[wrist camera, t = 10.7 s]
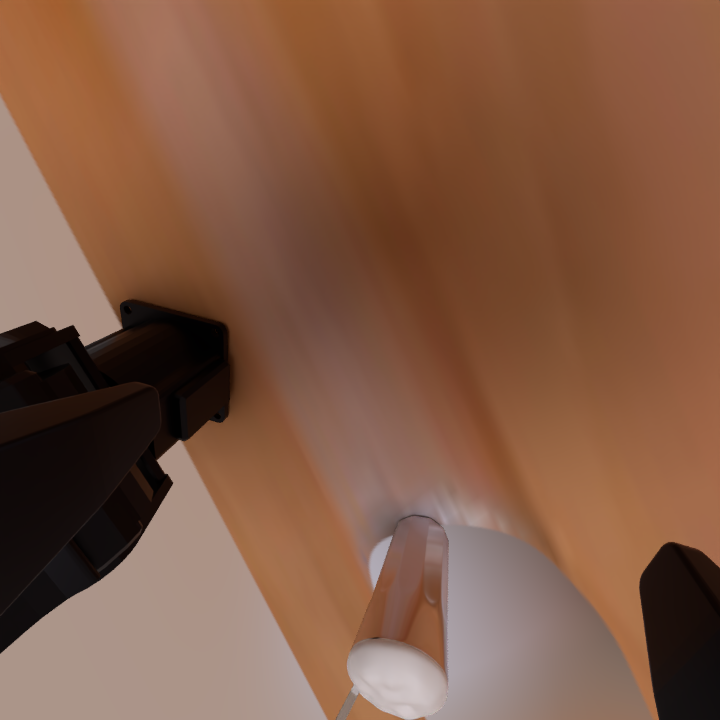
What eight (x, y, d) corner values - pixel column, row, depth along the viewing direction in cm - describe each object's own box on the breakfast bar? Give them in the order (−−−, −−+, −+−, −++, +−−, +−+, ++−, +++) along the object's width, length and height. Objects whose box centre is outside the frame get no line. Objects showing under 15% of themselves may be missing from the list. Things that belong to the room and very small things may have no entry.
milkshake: (361, 524, 27) (299, 702, 18) (430, 496, 24) (397, 687, 15) (403, 571, 27) (364, 764, 19) (474, 550, 25) (466, 760, 16)
